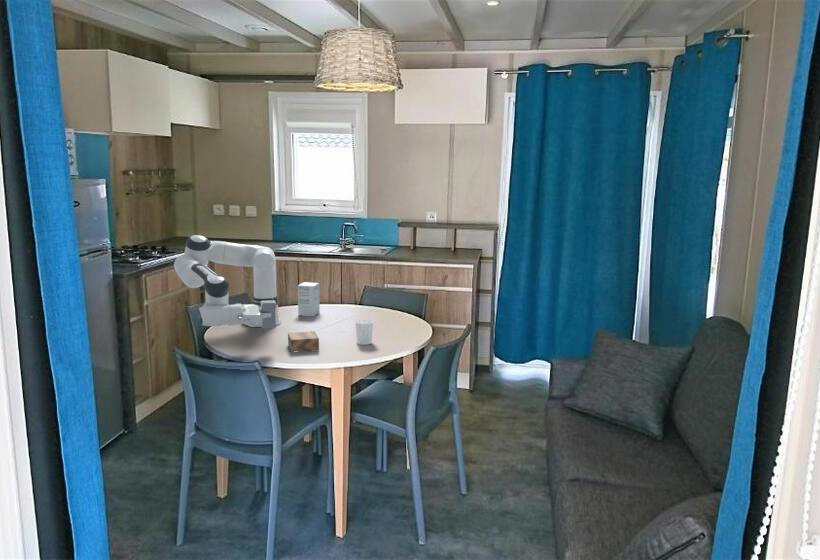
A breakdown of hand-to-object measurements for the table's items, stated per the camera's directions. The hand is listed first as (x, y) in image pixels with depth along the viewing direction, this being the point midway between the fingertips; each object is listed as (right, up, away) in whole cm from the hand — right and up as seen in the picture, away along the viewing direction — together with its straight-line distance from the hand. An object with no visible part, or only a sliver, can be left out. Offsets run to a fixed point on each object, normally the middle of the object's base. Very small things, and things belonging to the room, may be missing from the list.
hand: (270, 312), depth 279 cm
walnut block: (+13, -16, +7) cm, 22 cm away
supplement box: (+6, -5, +71) cm, 71 cm away
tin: (-1, -6, +1) cm, 6 cm away
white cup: (+40, -15, +16) cm, 46 cm away
